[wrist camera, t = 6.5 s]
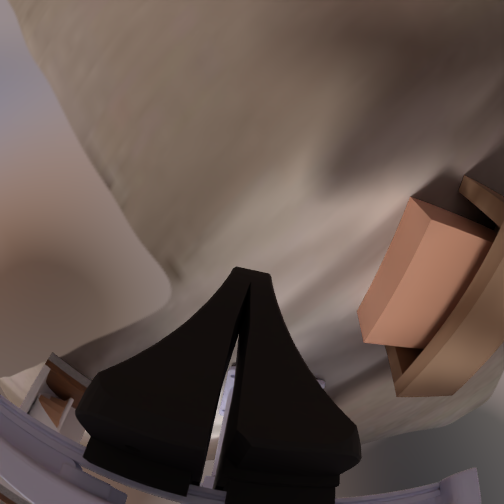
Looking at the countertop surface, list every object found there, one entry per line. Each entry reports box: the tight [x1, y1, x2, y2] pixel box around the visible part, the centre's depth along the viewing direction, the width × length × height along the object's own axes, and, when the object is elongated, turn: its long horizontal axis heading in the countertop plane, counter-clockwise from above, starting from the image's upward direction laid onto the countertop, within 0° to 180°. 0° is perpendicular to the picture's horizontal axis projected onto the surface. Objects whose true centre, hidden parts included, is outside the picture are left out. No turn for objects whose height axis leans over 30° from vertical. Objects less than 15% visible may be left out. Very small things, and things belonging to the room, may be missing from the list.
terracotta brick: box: [357, 197, 497, 349], centre depth 14 cm, size 8×7×3 cm
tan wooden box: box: [385, 175, 504, 397], centre depth 13 cm, size 12×5×5 cm, turn 170°
